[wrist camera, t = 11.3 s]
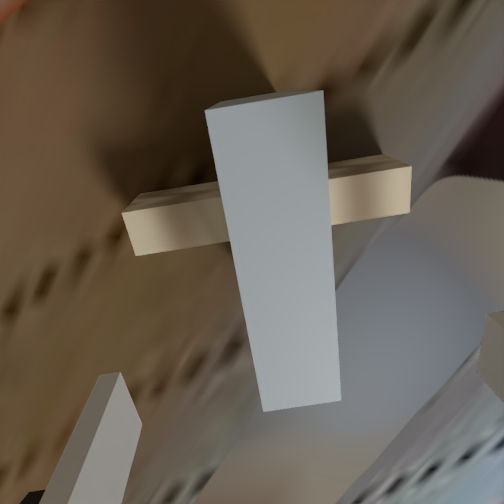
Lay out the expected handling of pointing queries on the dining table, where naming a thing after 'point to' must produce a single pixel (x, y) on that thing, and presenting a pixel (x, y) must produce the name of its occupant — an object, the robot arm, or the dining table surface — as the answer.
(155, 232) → the maple rail
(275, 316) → the grey board
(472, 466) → the dining table surface
